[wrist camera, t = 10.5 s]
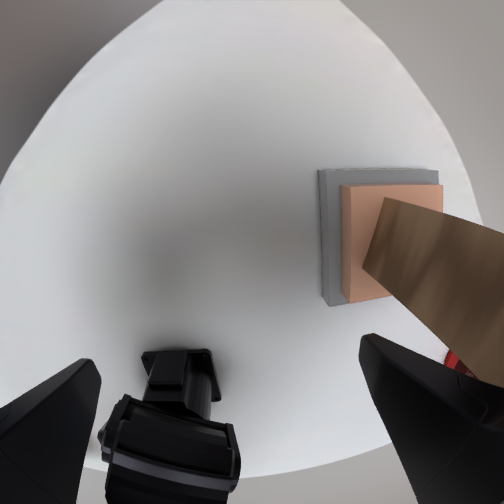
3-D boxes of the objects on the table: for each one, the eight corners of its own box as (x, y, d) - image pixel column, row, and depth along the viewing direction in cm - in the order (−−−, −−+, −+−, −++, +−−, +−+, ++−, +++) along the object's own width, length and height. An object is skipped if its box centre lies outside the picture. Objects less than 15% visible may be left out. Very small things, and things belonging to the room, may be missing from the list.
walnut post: (413, 280, 18) (535, 382, 6) (361, 268, 18) (496, 398, 5) (435, 218, 17) (581, 282, 5) (384, 196, 16) (563, 259, 4)
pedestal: (420, 278, 22) (441, 294, 19) (322, 296, 22) (335, 317, 19) (425, 169, 19) (451, 172, 16) (317, 170, 19) (334, 171, 16)
